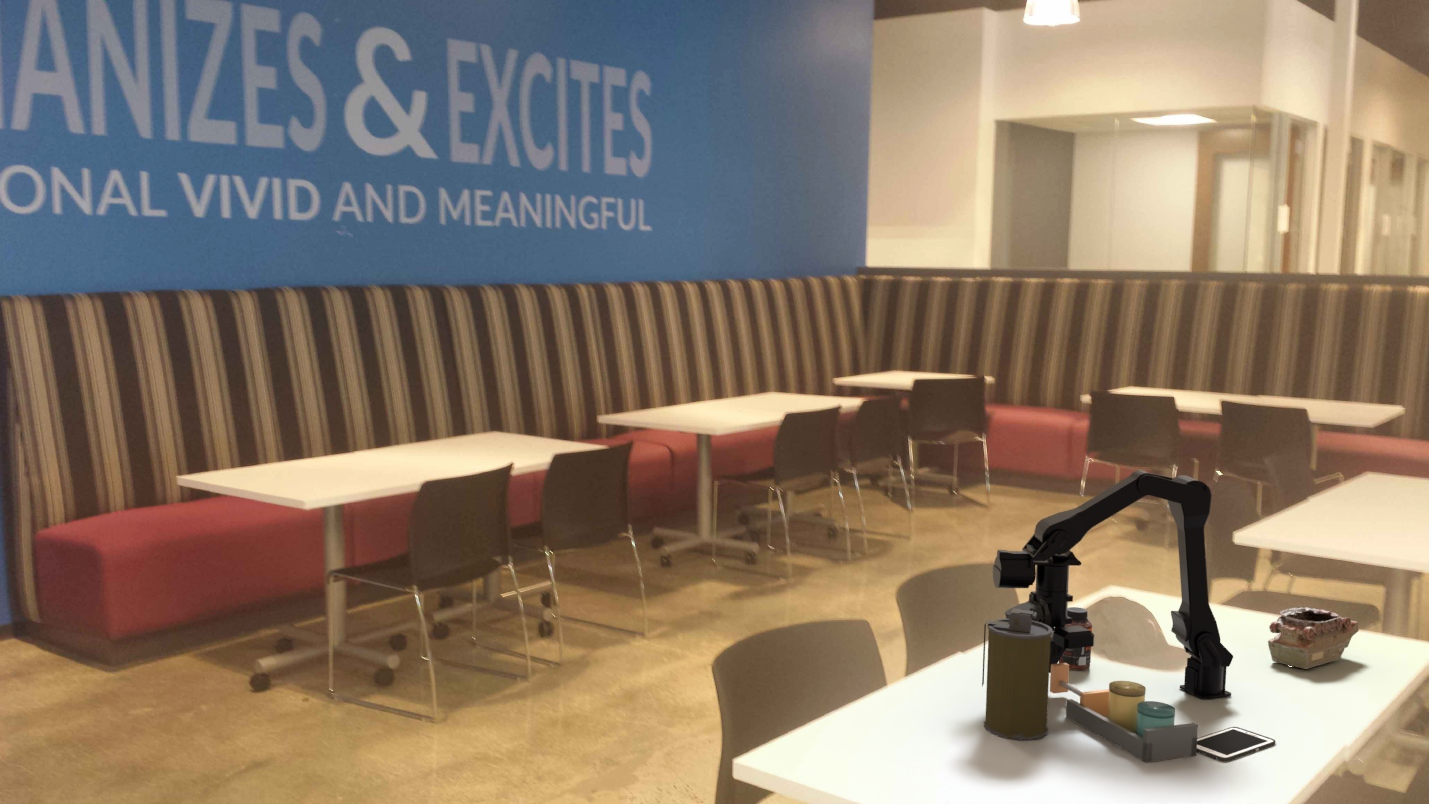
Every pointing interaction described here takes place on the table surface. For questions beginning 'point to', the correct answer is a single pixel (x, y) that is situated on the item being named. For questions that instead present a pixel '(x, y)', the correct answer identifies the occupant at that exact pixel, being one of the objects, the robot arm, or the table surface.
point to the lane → (1150, 747)
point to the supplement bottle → (1077, 656)
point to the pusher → (1078, 690)
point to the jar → (1153, 715)
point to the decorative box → (1310, 637)
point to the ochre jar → (1125, 703)
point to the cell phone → (1232, 744)
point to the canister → (1017, 676)
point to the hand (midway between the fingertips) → (1048, 672)
